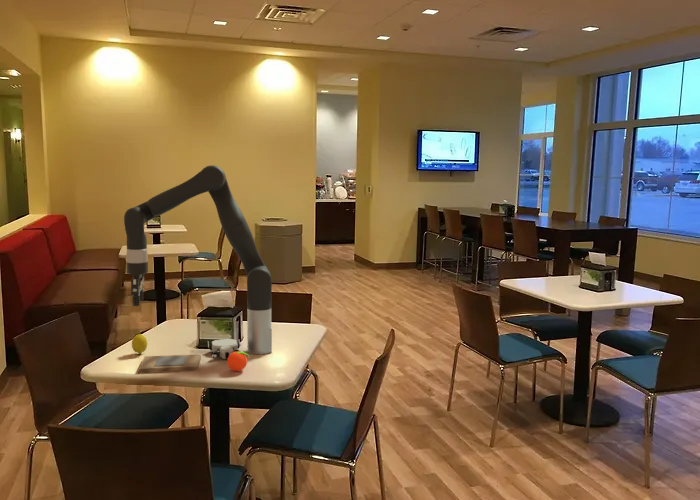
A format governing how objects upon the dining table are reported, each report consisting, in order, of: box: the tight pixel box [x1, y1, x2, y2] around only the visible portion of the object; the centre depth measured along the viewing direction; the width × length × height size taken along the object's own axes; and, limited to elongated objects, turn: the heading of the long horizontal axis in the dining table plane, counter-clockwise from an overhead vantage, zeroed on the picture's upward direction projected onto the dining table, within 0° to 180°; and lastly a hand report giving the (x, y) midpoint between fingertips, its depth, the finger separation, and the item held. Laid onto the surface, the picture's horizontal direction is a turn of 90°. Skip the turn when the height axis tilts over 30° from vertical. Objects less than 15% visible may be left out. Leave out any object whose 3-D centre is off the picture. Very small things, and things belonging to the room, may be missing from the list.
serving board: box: [138, 353, 202, 374], centre depth 214 cm, size 20×14×2 cm
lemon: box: [131, 333, 148, 355], centre depth 226 cm, size 6×6×8 cm
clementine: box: [226, 350, 251, 372], centre depth 209 cm, size 8×7×7 cm
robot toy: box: [207, 338, 242, 360], centre depth 227 cm, size 12×4×15 cm
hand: (138, 303), depth 224 cm, fingers open, 8 cm apart
